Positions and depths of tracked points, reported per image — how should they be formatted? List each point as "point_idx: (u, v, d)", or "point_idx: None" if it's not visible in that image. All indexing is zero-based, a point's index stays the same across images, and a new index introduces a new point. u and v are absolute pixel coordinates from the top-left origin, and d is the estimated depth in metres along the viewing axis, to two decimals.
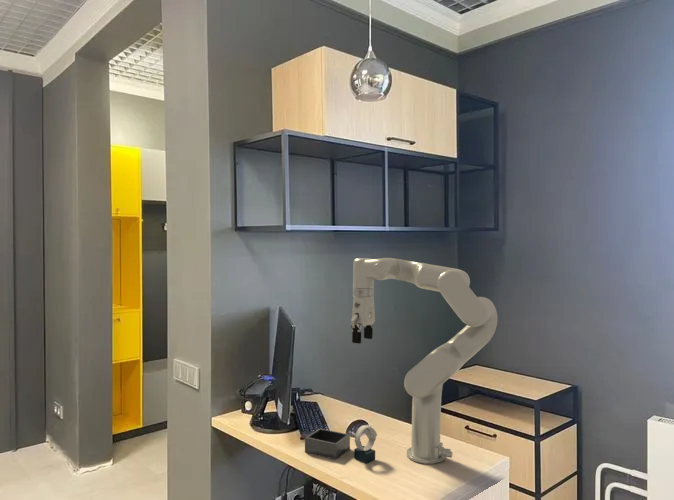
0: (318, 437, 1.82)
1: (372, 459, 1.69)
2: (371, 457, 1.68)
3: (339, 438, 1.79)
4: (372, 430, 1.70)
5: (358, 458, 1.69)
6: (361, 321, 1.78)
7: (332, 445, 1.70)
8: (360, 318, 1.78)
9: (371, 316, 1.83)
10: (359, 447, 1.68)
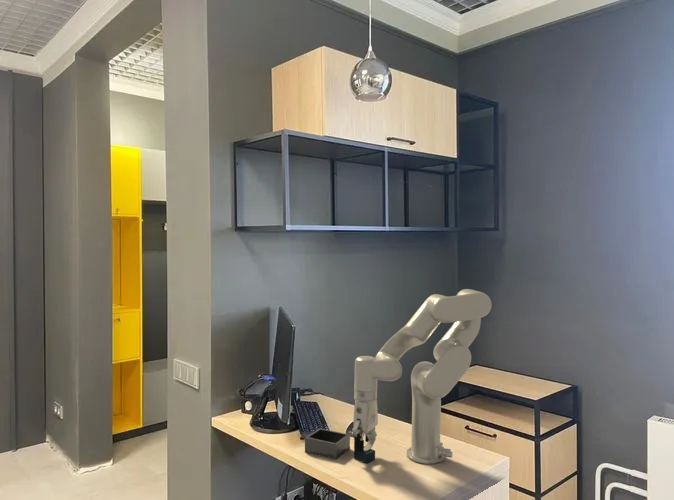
0: (318, 437, 1.82)
1: (372, 459, 1.69)
2: (371, 457, 1.68)
3: (339, 438, 1.79)
4: (372, 430, 1.70)
5: (358, 458, 1.69)
6: (363, 428, 1.65)
7: (332, 445, 1.70)
8: (362, 425, 1.65)
9: (374, 419, 1.70)
10: None
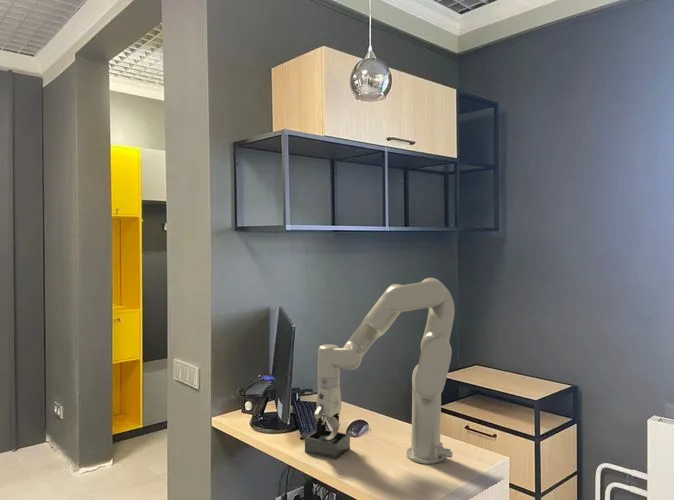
0: (318, 437, 1.82)
1: None
2: None
3: (339, 438, 1.79)
4: (335, 420, 1.76)
5: None
6: (325, 413, 1.71)
7: (332, 445, 1.70)
8: (324, 410, 1.71)
9: (337, 405, 1.76)
10: (322, 436, 1.74)
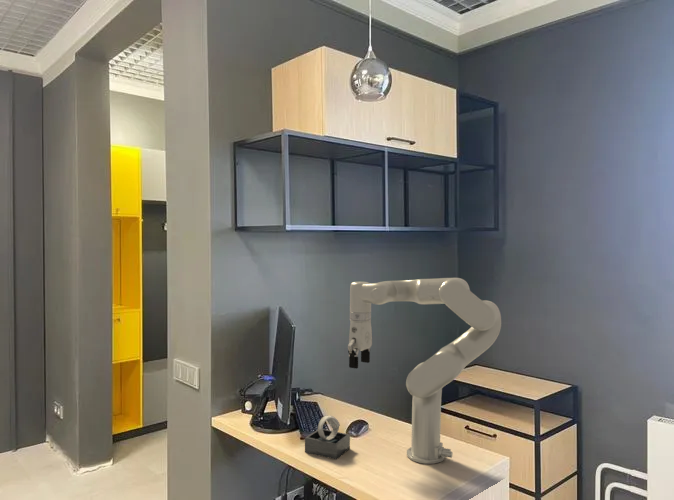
0: (318, 437, 1.82)
1: None
2: None
3: (339, 438, 1.79)
4: (335, 420, 1.76)
5: None
6: (358, 346, 1.76)
7: (332, 445, 1.70)
8: (357, 343, 1.77)
9: (368, 340, 1.81)
10: (322, 436, 1.74)
